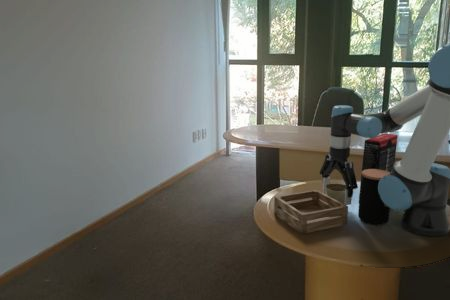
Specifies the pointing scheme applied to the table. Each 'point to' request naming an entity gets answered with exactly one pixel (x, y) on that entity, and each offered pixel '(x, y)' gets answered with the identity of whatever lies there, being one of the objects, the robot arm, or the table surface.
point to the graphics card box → (379, 153)
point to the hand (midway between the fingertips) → (336, 198)
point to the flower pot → (336, 191)
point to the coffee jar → (372, 198)
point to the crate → (310, 211)
